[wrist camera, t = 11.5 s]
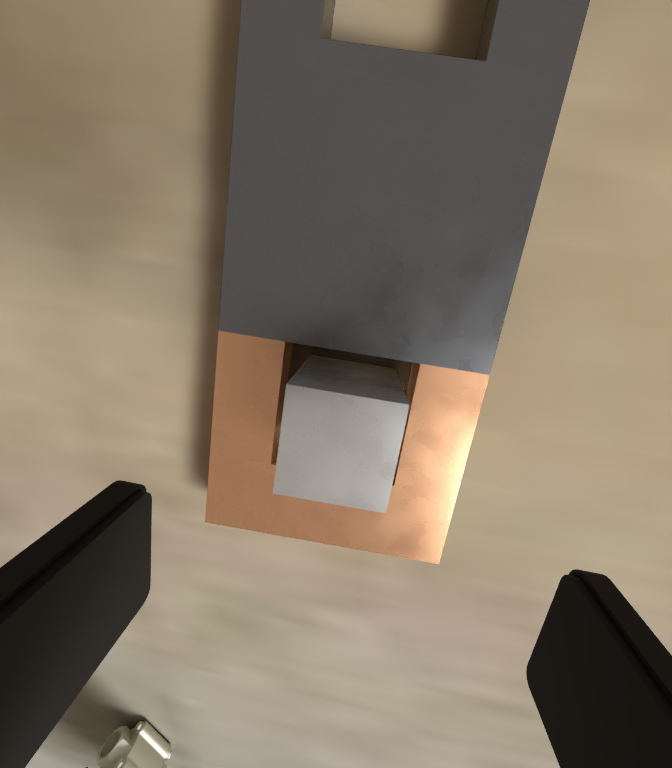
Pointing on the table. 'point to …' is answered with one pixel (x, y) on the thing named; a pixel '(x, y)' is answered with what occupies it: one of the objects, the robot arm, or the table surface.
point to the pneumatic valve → (134, 748)
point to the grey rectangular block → (341, 433)
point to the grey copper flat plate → (376, 244)
